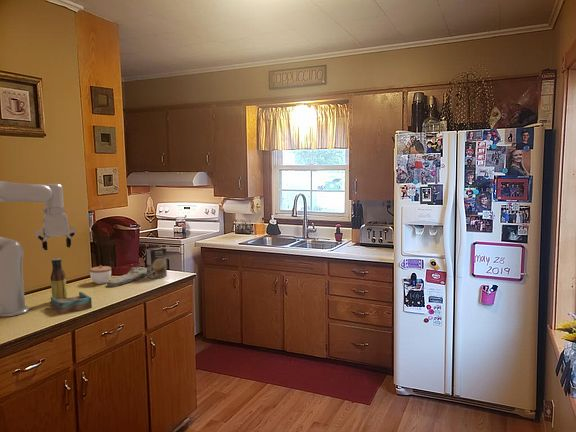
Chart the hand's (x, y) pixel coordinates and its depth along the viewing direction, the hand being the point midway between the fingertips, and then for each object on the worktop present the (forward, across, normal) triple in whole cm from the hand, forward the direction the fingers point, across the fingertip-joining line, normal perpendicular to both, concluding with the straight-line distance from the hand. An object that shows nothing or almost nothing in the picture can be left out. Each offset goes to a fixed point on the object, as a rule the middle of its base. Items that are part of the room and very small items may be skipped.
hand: (57, 248), depth 212 cm
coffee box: (+25, +55, +14) cm, 62 cm away
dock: (+25, +1, -13) cm, 28 cm away
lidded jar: (+25, +27, +22) cm, 43 cm away
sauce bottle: (+25, 0, 0) cm, 25 cm away
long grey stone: (+26, +42, +18) cm, 52 cm away
